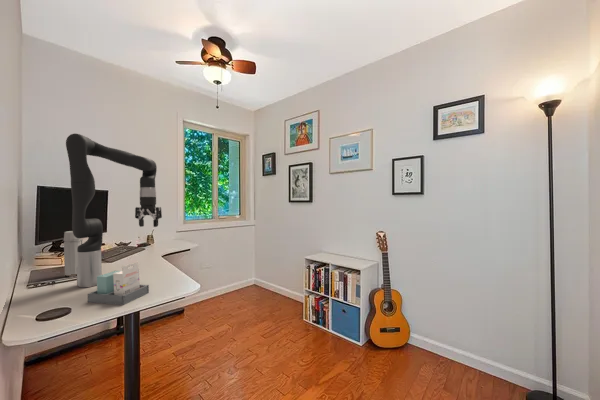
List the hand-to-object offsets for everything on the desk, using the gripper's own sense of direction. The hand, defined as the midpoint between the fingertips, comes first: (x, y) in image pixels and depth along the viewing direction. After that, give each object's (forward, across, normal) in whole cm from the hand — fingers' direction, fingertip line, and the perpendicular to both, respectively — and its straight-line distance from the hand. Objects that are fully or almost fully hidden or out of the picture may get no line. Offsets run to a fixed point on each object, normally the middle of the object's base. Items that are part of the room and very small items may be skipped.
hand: (148, 226), depth 136 cm
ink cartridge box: (+28, +11, -25) cm, 39 cm away
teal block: (+28, +3, -25) cm, 37 cm away
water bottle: (+28, -49, 0) cm, 57 cm away
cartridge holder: (+28, +7, -25) cm, 38 cm away
